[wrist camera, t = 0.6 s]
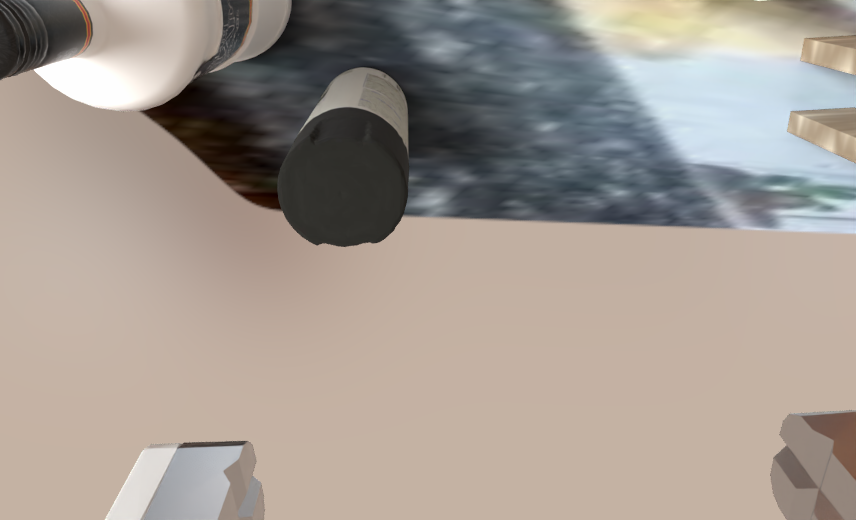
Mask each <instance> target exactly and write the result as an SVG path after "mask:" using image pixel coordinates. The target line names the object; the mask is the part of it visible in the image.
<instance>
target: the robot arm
mask: <svg viewBox="0 0 856 520" xmlns="http://www.w3.org/2000/svg"><path fill="white" fill-rule="evenodd" d="M780 436H781V438H782V439H783V441H784V442H785V443H786V446H785V447H784V448H783V449H782V450H781V451H780V452H779V453H778V454H777V455H776V456H775V457H774V458H773V464H772V469H771V474H770V476H771V483H772V490H773V494H774V497H775V499H776V502H777V504H778V507H779V508H780V510H781V511H782V513H783V514H784V516H785V518H786V519H787V520H856V410H846V411H830V412H813V413H796V414H795V413H794V414H789V415H788V416H787V417H786V419H785V420H784V421H783V423H782V427H781V431H780ZM255 464H256V457H255V453H254V449H253V445H252V444H251V443H250V442H248V441H233V442H232V441H229V442H192V443H183V444H179V443H178V444H151V445H150V446H148V447H147V448H145V449H144V450H143V451H142V453H141V454H140V456H139V458H138V460H137V462H136V464H135V465H134V467H133V469H132V471H131V473H130V475H129V477H128V478H127V480H126V482H125V484H124V486H123V487H122V489H121V491H120V493H119V495H118V497H117V498H116V500H115V502H114V504H113V506H112V508H111V509H110V511H109V513H108V515H107V517H106V519H105V520H264V511H265V509H264V495H263V490H262V485H261V483H260V482H259V481H258V480H257V479H256V478H254V477H253V476H252V475H253V471H254V468H255Z"/></svg>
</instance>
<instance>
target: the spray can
mask: <svg viewBox="0 0 856 520" xmlns="http://www.w3.org/2000/svg"><path fill="white" fill-rule="evenodd" d="M408 157H409V156H408V109H407V103H406V99H405V96H404V94H403V92H402V90H401V88H400V87H399V85H398V84H397V83H396V82H395V81H394V80H393V79H392V78H391V77H389V76H388V75H387V74H385V73H383V72H381V71H379V70H376V69H372V68H365V67H361V68H355V69H351V70H348V71H346V72H344V73H342V74H340V75H339V76H337V77H336V78H335V79H334V80H333V81H332V82H331V83H330V85H329V86H328V87H327V89H326V91H325V92H324V93H323V94H322V95H321V99H320V100H319V102H318V104H317V105H316V107H315V109H314V110H313V112H312V113H311V115H310V116H309V118H308V120H307V121H306V123H305V124H304V126H303V127H302V129H301V130H300V132H299V134H298V136H297V138H296V139H295V141H294V144H293V145H292V147H291V149H290V151H289V153H288V155H287V156H286V158H285V160H284V162H283V164H282V167H281V169H280V173H279V177H278V197H279V202H280V205H281V208H282V211H283V213H284V215H285V217H286V219H287V221H288V222H289V224H290V225H291V226H292V227H293V229H294V230H296V232H297V233H299V234H300V235H301V236H302V237H303V238H305V239H306V240H308V241H309V242H311V243H313V244H315V245H319V244H322V243H327V244H331V245H336V246H341V247H346V246H354V245H359V244H362V243H368V242H371V243H378V242H380V241H382V240H384V239H385V238H386V237H387V236H388V235H389V234H391V233H392V232H393V231H394V229H395V227H396V226H397V224H398V223H399V222H400V221H401V218H402V216H403V214H404V210H405V207H406V203H407V198H408V179H409V160H408Z"/></svg>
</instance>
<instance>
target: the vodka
mask: <svg viewBox="0 0 856 520" xmlns="http://www.w3.org/2000/svg"><path fill="white" fill-rule="evenodd" d="M291 5H292V0H0V80H1V79H3V78H6V77H11V76H16V75H18V74H20V73H23V72H27V71H30V70H33V69H34V70H35V71H36V73H38V74H39V75H40V76H41V77H42V78H43V79H44V80H46V81H47V82H48V83H49V84H50V85H51V86H53V87H54V88H55V89H57V90H59V91H60V92H62V93H64V94H65V95H67V96H69V97H70V98H72V99H74V100H77V101H80V102H82V103H85V104H88V105H90V106H93V107H97V108H103V109H110V110H117V111H138V110H145V109H149V108H152V107H155V106H158V105H162V104H164V103H165V102H167V101H168V100H170V99H172V98H173V97H175V96H176V95H178V94H179V93H180V92H181V91H182V90H183V89H184V88H185V87H186V86H187V85H188V84H190V83H191V82H193V81H195V80H197V79H198V78H200V77H202V76H204V75H205V74H207V73H210V72H214V71H218V70H220V69H223V68H225V67H227V66H229V65H230V64H232V63H233V62H238V61H244V60H247V59H250V58H253V57H256V56H257V55H259V54H261V53H263V52H264V51H266V50H267V49H269V48H270V47H271V46H272V45H273V44H274V43H275V42H276V41H277V40H278V39H279V37H280V36H281V34H282V33H283V31H284V29H285V27H286V25H287V22H288V20H289V16H290V12H291Z"/></svg>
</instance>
